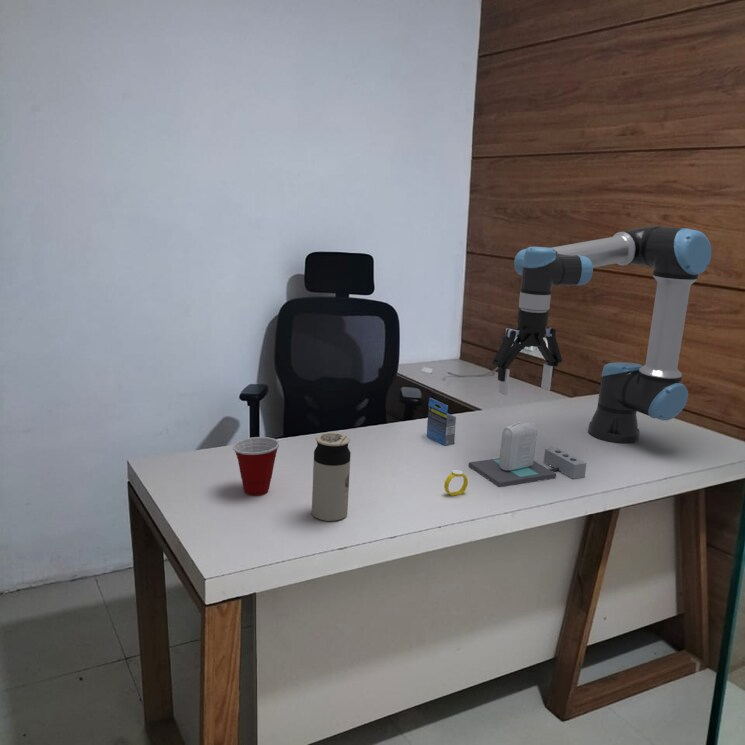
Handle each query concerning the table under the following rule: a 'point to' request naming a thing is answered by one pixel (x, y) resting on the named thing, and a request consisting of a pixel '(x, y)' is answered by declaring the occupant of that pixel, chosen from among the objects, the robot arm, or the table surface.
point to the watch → (453, 474)
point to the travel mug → (331, 476)
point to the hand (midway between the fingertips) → (524, 391)
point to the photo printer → (518, 446)
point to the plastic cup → (256, 463)
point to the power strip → (565, 462)
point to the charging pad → (510, 472)
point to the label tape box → (440, 423)
